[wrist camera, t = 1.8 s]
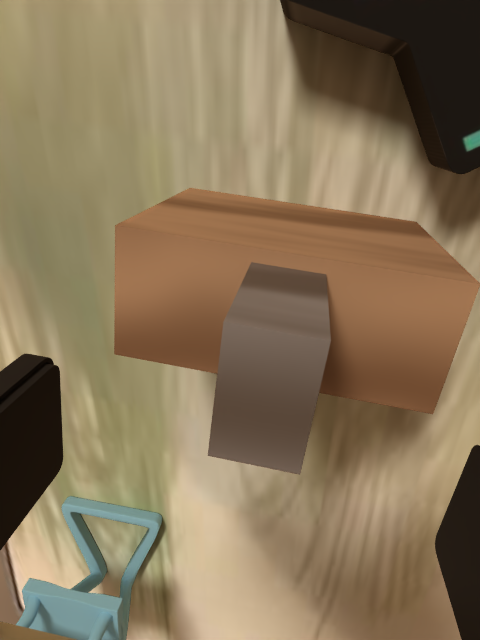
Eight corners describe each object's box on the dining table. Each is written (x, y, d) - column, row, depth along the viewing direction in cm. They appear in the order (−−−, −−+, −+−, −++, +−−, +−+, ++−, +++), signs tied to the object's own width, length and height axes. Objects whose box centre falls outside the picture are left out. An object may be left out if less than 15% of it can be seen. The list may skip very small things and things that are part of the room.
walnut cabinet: (190, 187, 24) (30, 267, 11) (416, 221, 23) (558, 359, 10) (183, 275, 26) (42, 436, 13) (390, 310, 25) (478, 526, 12)
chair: (73, 566, 39) (-22, 741, 28) (66, 494, 35) (-46, 662, 24) (160, 585, 38) (98, 772, 27) (162, 513, 34) (91, 695, 23)
